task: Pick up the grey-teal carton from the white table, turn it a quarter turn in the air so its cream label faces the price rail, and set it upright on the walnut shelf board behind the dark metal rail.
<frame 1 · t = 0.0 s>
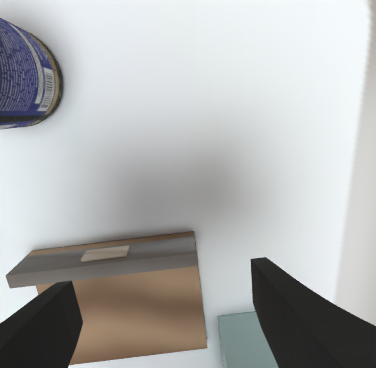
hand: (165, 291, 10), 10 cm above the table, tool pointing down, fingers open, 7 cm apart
carton: (244, 339, 24), on the table
shelf board: (125, 298, 22), on the table
pill bottle: (20, 80, 18), on the table
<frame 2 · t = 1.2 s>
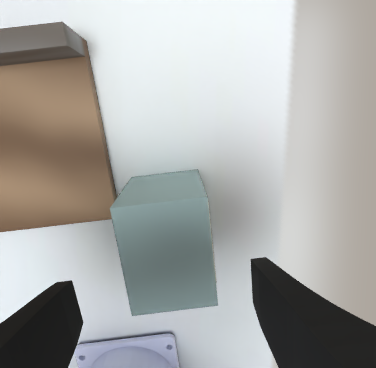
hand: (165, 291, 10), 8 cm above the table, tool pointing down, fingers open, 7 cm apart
carton: (170, 213, 18), on the table
shelf board: (4, 146, 17), on the table
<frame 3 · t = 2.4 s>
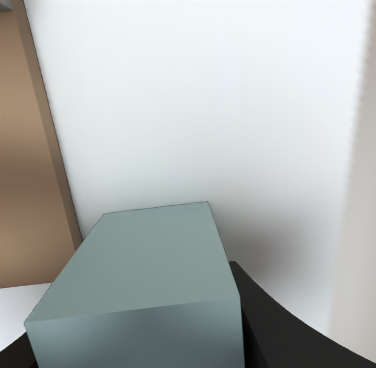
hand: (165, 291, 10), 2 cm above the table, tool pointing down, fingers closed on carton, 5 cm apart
carton: (165, 268, 12), on the table, touching gripper
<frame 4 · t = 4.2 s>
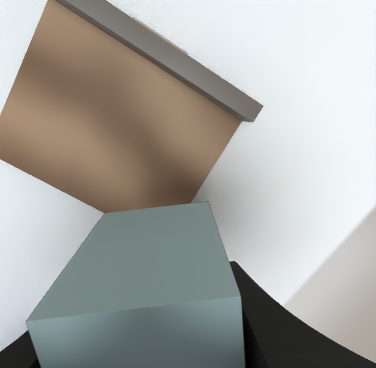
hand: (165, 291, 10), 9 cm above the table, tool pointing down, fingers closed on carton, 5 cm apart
carton: (165, 267, 12), point 7 cm above the table, touching gripper
shelf board: (120, 128, 17), on the table
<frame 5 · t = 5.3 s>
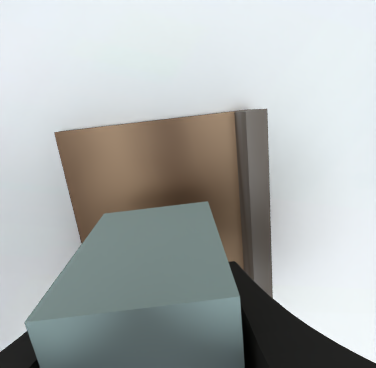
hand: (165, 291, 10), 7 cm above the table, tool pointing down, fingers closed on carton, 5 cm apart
carton: (165, 268, 12), point 5 cm above the table, touching gripper
shelf board: (169, 222, 17), on the table
when the fingers open (4 cm above the table, at t = 6.3 s): carton drops 1 cm, resting on shelf board.
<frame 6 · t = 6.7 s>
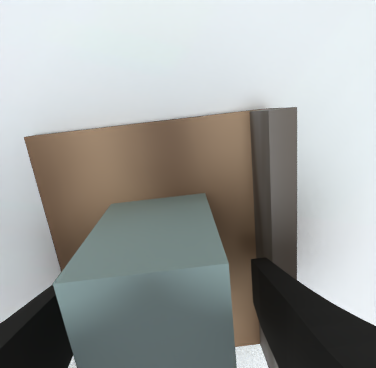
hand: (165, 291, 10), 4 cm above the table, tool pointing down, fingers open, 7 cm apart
carton: (166, 254, 13), point 1 cm above the table, touching shelf board
shelf board: (168, 245, 14), on the table
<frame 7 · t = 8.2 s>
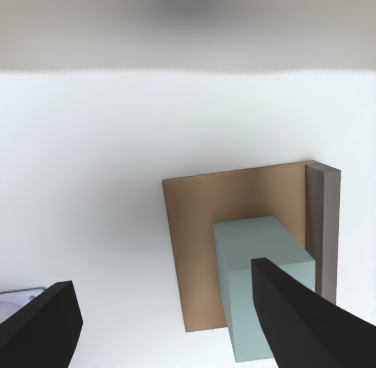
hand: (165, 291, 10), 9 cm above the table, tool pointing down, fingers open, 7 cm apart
carton: (245, 255, 20), point 1 cm above the table, touching shelf board
shelf board: (244, 249, 21), on the table
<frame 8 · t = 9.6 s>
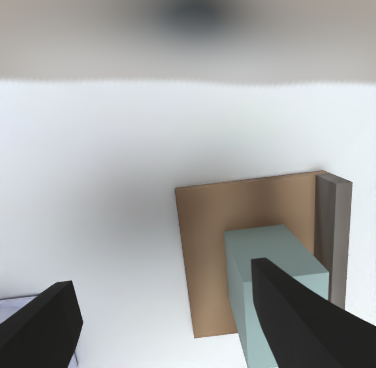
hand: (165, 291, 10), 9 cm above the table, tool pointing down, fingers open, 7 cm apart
carton: (255, 263, 20), point 1 cm above the table, touching shelf board
shelf board: (253, 257, 21), on the table
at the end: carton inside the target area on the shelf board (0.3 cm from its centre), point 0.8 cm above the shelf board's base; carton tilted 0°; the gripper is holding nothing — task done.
